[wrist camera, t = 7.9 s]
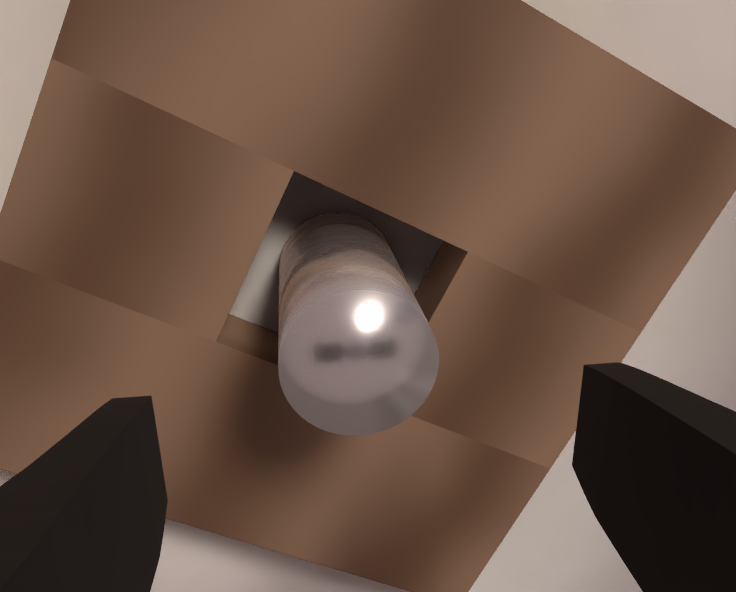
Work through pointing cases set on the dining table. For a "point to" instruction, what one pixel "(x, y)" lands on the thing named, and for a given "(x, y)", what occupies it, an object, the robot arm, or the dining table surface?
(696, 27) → the dining table surface
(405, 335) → the steel roller
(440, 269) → the walnut plate
